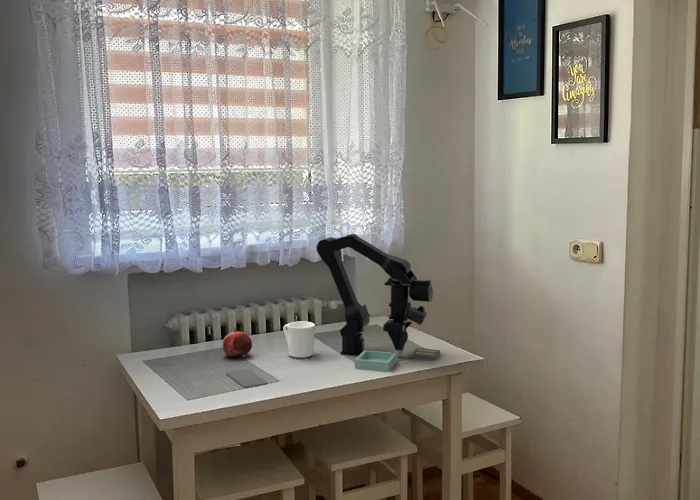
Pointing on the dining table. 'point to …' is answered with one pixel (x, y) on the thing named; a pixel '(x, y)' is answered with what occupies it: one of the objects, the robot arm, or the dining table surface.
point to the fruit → (237, 343)
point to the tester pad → (425, 354)
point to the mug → (300, 339)
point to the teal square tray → (375, 360)
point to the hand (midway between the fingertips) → (399, 346)
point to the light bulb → (402, 344)
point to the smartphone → (246, 378)
